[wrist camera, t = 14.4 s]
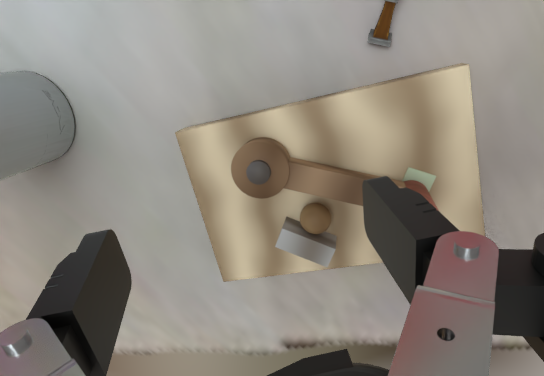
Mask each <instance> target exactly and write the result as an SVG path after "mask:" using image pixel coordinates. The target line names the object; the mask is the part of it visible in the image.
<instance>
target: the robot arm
mask: <svg viewBox="0 0 544 376" xmlns="http://www.w3.org/2000/svg"><path fill="white" fill-rule="evenodd" d="M74 130H75V125H74V117H73V114H72V111H71V107H70V105H69V103H68V101H67V99H66V98H65V96H64V95H63V94H62V92H61V91H60V90H59V89H58V88H57V87H56V86H55V85H54V84H53V83H52V82H51V81H49V80H48V79H46V78H45V77H43V76H41V75H39V74H36V73H33V72H28V71H20V72H6V73H0V180H3V179H5V178H8V177H11V176H13V175H16V174H18V173H21V172H24V171H26V170H29V169H32V168H34V167H37V166H39V165H42V164H44V163H47V162H50V161H52V160H55V159H57V158H59V157H61V156H62V155H63V154H64V153H65V152H66V151H67V150H68V149H69V147H70V146H71V144H72V141H73V137H74ZM362 193H363V213H364V226H365V231H366V234H367V237H368V239H369V241H370V242H371V244H372V246H373V247H374V249H375V250H376V252H377V253H378V255H379V256H380V258H381V260H382V261H383V263H384V264H385V266H386V267H387V269H388V270H389V272H390V274H391V275H392V277H393V278H394V280H395V281H396V283H397V284H398V286H399V288H400V289H401V291H402V292H403V294H404V295H405V297H406V299H407V300H408V302H409V303H410V305H411V306H410V309H409V312H408V315H407V318H406V321H405V324H404V327H403V330H402V333H401V336H400V339H399V342H398V346H397V349H396V352H395V355H394V358H393V361H392V364H391V367H390V370H388V369H385V368H382V367H378V366H374V365H369V364H362V363H352V361H351V359H350V356H349V353H348V351H347V349H344V350H340V351H335V352H331V353H326V354H321V355H317V356H312V357H308V358H303V359H301V360H299V361H297V362H295V363H293V364H291V365H289V366H286V367H284V368H282V369H280V370H278V371H276V372H274V373H272V374H270V375H267V376H489V367H490V356H491V345H492V334H494V335H511V336H523V337H524V338H525V340H526V341H527V342H528V343H529V344H530V346H531V347H532V348H533V349H534V351H535V352H536V353H537V354H538V355H539V357H540V358H541V359H542V360H543V361H544V233H542V234H540V235H539V236H537V237H536V239H535V242H534V247H533V250H514V249H498V247H497V245H496V244H495V243H494V242H493V241H492V240H490V239H489V238H487V237H485V236H483V235H480V234H477V233H473V232H467V231H459V230H458V229H457V228H456V227H455V226H454V225H453V224H452V223H451V222H450V221H449V220H448V219H447V218H446V217H445V216H444V215H442V214H441V213H440V212H439V211H438V210H436V208H435V207H434V206H433V205H432V204H431V203H430V204H429V201H428V200H427V199H426V198H424V197H423V196H422V195H421V194H420V193H418V192H416V191H414V190H411V189H409V188H407V187H405V188H399V187H398V186H397V185H396V184H395V183H394V182H393V181H392V180H391V179H390V178H389V177H388V176H383V177H378V178H373V179H368V180H364V181H363V184H362ZM130 290H131V274H130V270H129V267H128V264H127V262H126V259H125V257H124V254H123V252H122V249H121V247H120V244H119V242H118V239H117V236H116V234H115V233H114V231H113V230H105V231H100V232H95V233H90V234H86V235H85V236H84V237H83V239H82V241H81V243H80V245H79V247H78V249H77V250H76V252H74V253H70V254H69V255H68V256H67V257H66V258H65V259H64V260H63V261H62V262H60V263H59V264H58V265H57V267H56V269H55V270H54V272H53V274H52V276H51V279H49V281H48V282H47V284H46V286H45V289H43V291H42V293H41V294H40V296H39V298H38V300H37V301H36V303H35V305H34V306H33V308H32V310H31V312H30V313H29V315H28V317H27V318H26V320H24V321H21V322H18V323H16V324H14V325H12V326H10V327H8V328H7V329H5V330H4V331H2V332H1V333H0V376H106V374H107V371H108V367H109V364H110V360H111V357H112V353H113V350H114V346H115V343H116V339H117V336H118V332H119V329H120V325H121V322H122V318H123V315H124V311H125V307H126V304H127V300H128V297H129V293H130Z"/></svg>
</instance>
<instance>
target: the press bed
mask: <svg viewBox="0 0 544 376" xmlns="http://www.w3.org/2000/svg"><path fill="white" fill-rule="evenodd" d="M175 134H176V137H177V140H178V143H179V146H180V149H181V152H182V155H183V159H184V162H185V165H186V168H187V171H188V174H189V177H190V180H191V183H192V186H193V189H194V192H195V195H196V198H197V202H198V205H199V208H200V211H201V214H202V217H203V220H204V223H205V226H206V229H207V232H208V235H209V238H210V241H211V244H212V248H213V251H214V254H215V257H216V260H217V263H218V266H219V269H220V272H221V275H222V278H223V281H224V282H226V281H234V280H242V279H250V278H259V277H267V276H275V275H283V274H292V273H300V272H308V271H316V270H325V269H333V268H341V267H349V266H358V265H366V264H374V263H382V262H383V261H382V260H381V258H380V256H379V255H378V253H377V252H376V250H375V249H374V247H373V246H372V244H371V242H370V241H369V239H368V237H367V234H366V231H365V226H364V213H363V206H359V205H355V204H351V203H346V202H342V201H337V200H333V199H328V198H324V197H320V196H315V195H311V194H306V193H302V192H297V191H293V190H289V189H284V188H283V189H282V190H281V191H280V192H279V193H278V194H276V195H275V196H273V197H270V198H264V199H259V198H254V197H251V196H248V195H247V194H245V193H243V192H242V191H241V190H240V189H239V188H238V187H237V186H236V184H235V182H234V180H233V178H232V174H231V163H232V160H233V157H234V155H235V154H236V152H237V151H238V150H239V149H240V148H241V147H242V146H243V145H244V144H245V143H247V142H248V141H250V140H252V139H254V138H258V137H267V138H271V139H274V140H276V141H278V142H279V143H281V144H282V145H283V146H284V147H285V148H286V149H287V151H288V153H289V155H290V157H292V158H297V159H302V160H306V161H311V162H316V163H320V164H325V165H329V166H334V167H339V168H343V169H348V170H353V171H357V172H362V173H366V174H371V175H376V176H380V177H383V176H388V177H389V178H390V179H394V180H399V181H408V180H415V181H418V182H421V183H422V184H423V185H425V187H426V188H427V190H428V192H429V193H430V195H431V197H432V199H433V201H434V203H435V204H436V206H437V208H438V210H439V212H440V213H441V214H442V215H444V216H445V217H446V218H447V219H448V220H449V221H450V222H451V223H452V224H453V225H454V226H455V227H456V228H457V229H458V230H459V231H467V232H473V233H477V234H480V235H483V236H485V230H484V220H483V209H482V198H481V188H480V177H479V167H478V156H477V145H476V135H475V124H474V113H473V103H472V92H471V81H470V71H469V64H463V63H461V64H457V65H452V66H448V67H444V68H440V69H435V70H431V71H427V72H422V73H418V74H414V75H410V76H405V77H401V78H397V79H393V80H388V81H384V82H380V83H375V84H371V85H367V86H363V87H358V88H354V89H350V90H345V91H341V92H337V93H333V94H328V95H324V96H320V97H315V98H311V99H307V100H303V101H298V102H294V103H290V104H286V105H281V106H277V107H273V108H268V109H264V110H260V111H256V112H251V113H247V114H243V115H238V116H234V117H230V118H226V119H221V120H217V121H213V122H209V123H204V124H200V125H196V126H191V127H187V128H183V129H181V130H179V131H177V132H175Z"/></svg>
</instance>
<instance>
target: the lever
mask: <svg viewBox="0 0 544 376" xmlns="http://www.w3.org/2000/svg"><path fill="white" fill-rule="evenodd" d="M231 174H232V178H233V180H234V182H235V184H236V186H237V187H238V188H239V189H240V190H241V191H242V192H243V193H245V194H247V195H248V196H251V197H254V198H259V199H264V198H270V197H273V196H275V195H276V194H278V193H279V192H280V191H281V190H282V189H283V188H284V189H289V190H293V191H297V192H302V193H306V194H311V195H315V196H320V197H324V198H328V199H333V200H337V201H342V202H346V203H351V204H355V205H359V206H363V193H362V184H363V181H364V180H368V179H373V178H378V177H380V176H376V175H371V174H366V173H362V172H357V171H353V170H348V169H343V168H339V167H334V166H329V165H325V164H320V163H316V162H311V161H306V160H302V159H297V158H292V157H290V155H289V153H288V151H287V149H286V148H285V147H284V146H283V145H282V144H281V143H279V142H278V141H276V140H274V139H271V138H267V137H258V138H254V139H252V140H250V141H248V142H247V143H245V144H244V145H243V146H242V147H241V148H240V149H239V150H238V151H237V152H236V154H235V155H234V157H233V160H232V163H231ZM391 180H392V181H393V182H394V183H395V184H396V185H397V186H398V187H399V188H405V187H407V188H409V189H411V190H414V191H416V192H418V193H420V194H421V195H422V196H423V197H424V198H426V199H427V200H428V201H429V204H430V203H431V204H432V205H433V206H434V207H435V208H436V210H438V208H437V206H436V204H435V203H434V201H433V199H432V197H431V195H430V193H429V192H428V190H427V188H426V187H425V185H423V184H422V183H421V182H418V181H415V180H408V181H399V180H394V179H391ZM438 211H439V210H438Z"/></svg>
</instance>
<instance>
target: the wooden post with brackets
mask: <svg viewBox="0 0 544 376" xmlns="http://www.w3.org/2000/svg"><path fill="white" fill-rule="evenodd" d="M395 3H398V0H385V4H384V7H383V10H382V13H381V15H380V18H379V21H378V23H377V25H376V27H375V30H373V29H371V31H370V33H369V36H368V43H373V44H378V45H383V46H387V47H390V43H391V36H392V33H389V28H390V24H391V19H392V14H393V10H394V7H395Z"/></svg>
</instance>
